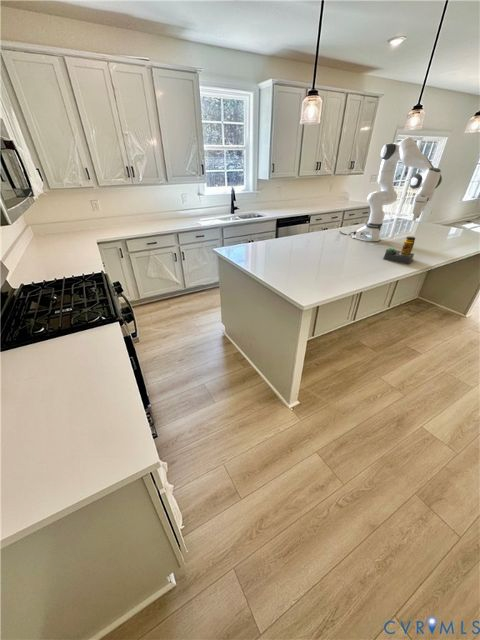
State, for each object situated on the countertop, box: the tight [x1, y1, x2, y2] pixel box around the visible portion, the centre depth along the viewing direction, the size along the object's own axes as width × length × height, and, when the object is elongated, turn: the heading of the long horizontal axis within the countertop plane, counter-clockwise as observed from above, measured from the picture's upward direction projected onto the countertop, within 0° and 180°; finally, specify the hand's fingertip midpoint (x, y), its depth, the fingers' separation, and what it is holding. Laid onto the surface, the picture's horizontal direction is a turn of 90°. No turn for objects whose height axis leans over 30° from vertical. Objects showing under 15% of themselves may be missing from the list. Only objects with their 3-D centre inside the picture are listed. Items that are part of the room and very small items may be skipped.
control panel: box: [383, 248, 415, 265], centre depth 185 cm, size 17×13×6 cm
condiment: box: [399, 236, 416, 256], centre depth 180 cm, size 7×8×12 cm
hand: (415, 219), depth 174 cm, fingers open, 8 cm apart
